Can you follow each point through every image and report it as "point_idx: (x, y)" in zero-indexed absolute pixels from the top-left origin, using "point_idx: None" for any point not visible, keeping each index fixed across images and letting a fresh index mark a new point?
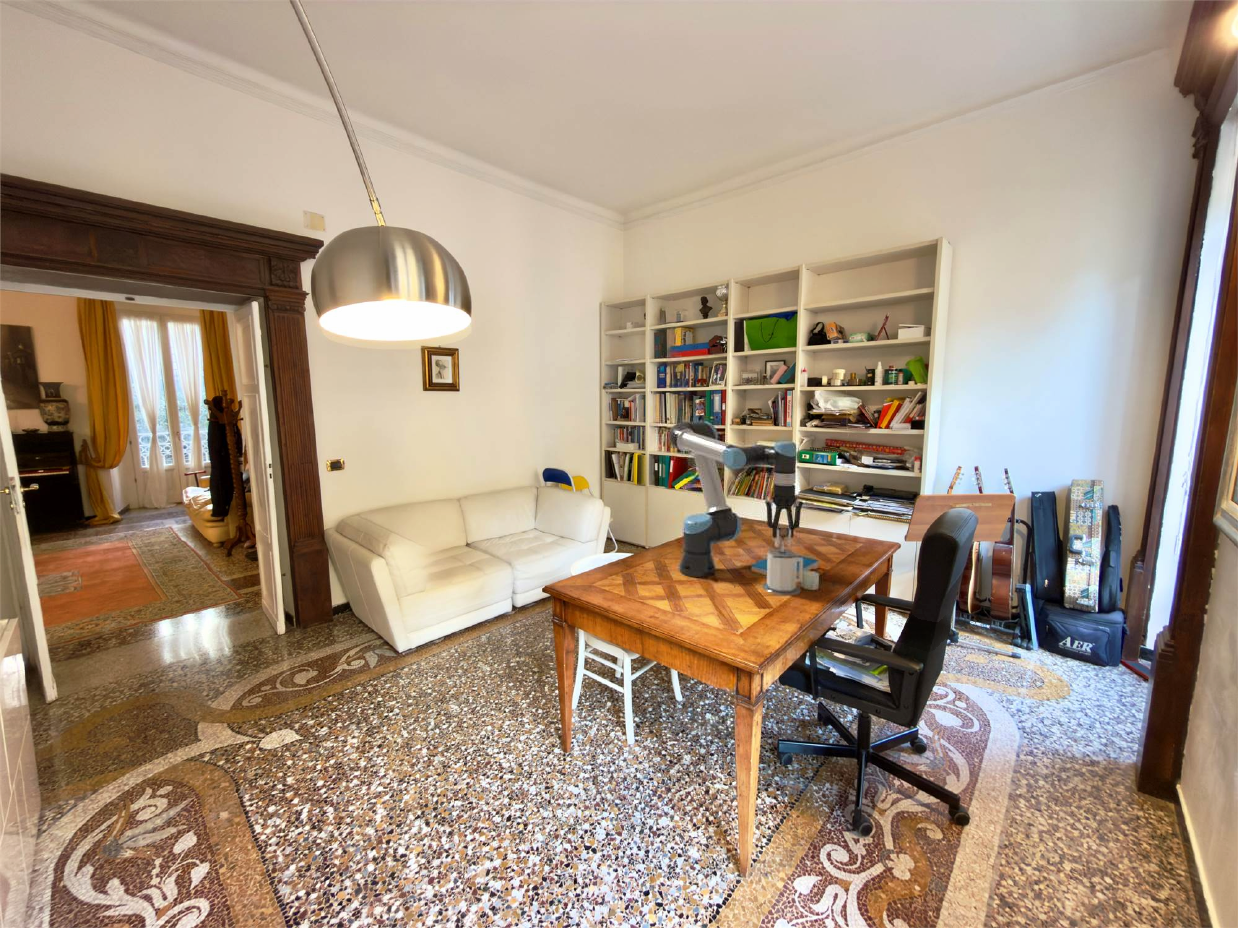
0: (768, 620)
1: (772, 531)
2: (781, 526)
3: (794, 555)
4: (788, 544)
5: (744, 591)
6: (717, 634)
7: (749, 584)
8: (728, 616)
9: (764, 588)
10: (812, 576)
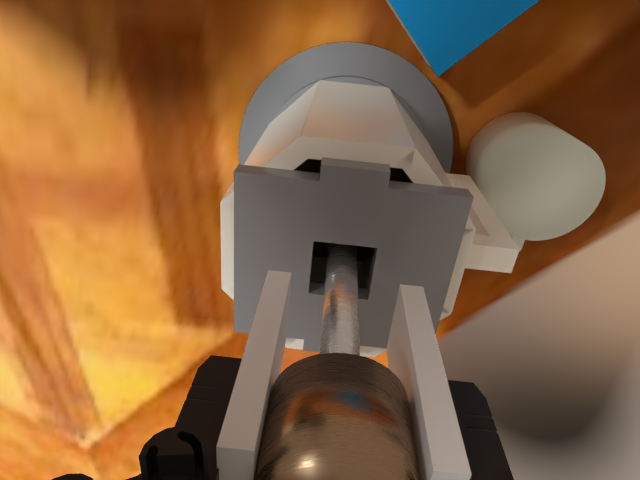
0: None
1: (179, 416)
2: (341, 469)
3: None
4: (389, 364)
5: (140, 155)
6: (25, 443)
7: (183, 55)
8: (56, 362)
9: (247, 158)
10: (526, 236)
